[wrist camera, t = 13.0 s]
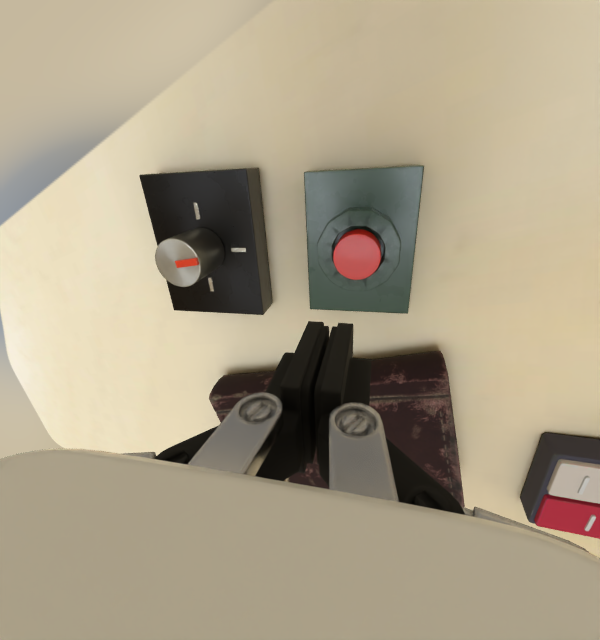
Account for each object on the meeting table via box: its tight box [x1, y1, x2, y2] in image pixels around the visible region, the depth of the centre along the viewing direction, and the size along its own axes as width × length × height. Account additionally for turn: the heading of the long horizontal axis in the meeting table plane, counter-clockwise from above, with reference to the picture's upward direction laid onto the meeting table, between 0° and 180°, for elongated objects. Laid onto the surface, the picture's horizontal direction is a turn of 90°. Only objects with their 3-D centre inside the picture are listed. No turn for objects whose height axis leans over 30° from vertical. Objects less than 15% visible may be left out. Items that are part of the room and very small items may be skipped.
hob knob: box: [155, 228, 225, 287], centre depth 27 cm, size 4×4×5 cm
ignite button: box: [333, 229, 381, 280], centre depth 25 cm, size 4×4×2 cm
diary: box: [209, 351, 464, 507], centre depth 37 cm, size 19×25×5 cm
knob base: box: [140, 168, 272, 315], centre depth 30 cm, size 13×10×3 cm
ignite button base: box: [304, 165, 424, 313], centre depth 27 cm, size 12×9×4 cm
